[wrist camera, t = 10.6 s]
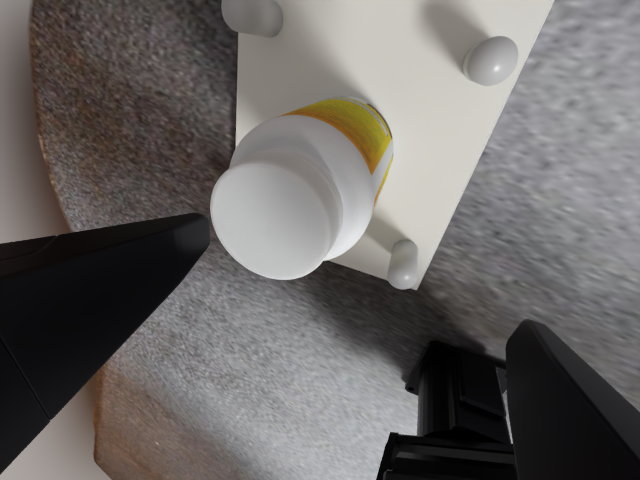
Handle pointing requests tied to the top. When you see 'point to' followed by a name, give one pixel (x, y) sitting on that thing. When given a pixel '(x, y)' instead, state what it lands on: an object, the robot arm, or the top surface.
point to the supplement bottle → (303, 187)
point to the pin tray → (392, 97)
